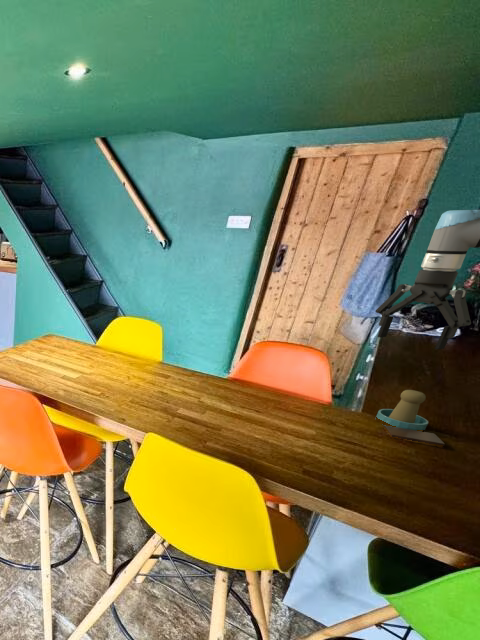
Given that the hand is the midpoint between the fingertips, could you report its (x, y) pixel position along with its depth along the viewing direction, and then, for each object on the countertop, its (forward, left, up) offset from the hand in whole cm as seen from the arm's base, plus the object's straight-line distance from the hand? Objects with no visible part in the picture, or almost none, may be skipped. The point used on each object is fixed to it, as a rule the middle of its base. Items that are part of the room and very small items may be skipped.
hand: (409, 342), depth 121 cm
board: (-5, +11, -26) cm, 29 cm away
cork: (-5, +1, -26) cm, 26 cm away
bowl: (-5, +1, -26) cm, 27 cm away
